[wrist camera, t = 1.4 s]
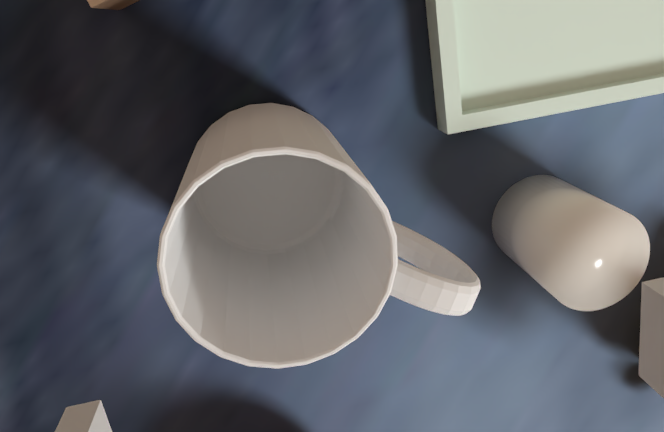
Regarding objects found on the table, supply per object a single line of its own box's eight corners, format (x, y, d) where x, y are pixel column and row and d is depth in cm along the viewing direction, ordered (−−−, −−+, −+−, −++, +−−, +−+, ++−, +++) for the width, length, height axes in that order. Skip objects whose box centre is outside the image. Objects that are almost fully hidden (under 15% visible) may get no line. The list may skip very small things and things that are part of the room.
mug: (170, 232, 29) (131, 343, 19) (211, 79, 27) (191, 113, 17) (391, 288, 31) (458, 409, 22) (444, 153, 29) (544, 220, 20)
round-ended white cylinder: (494, 268, 32) (548, 321, 26) (488, 184, 30) (544, 221, 25) (578, 250, 32) (648, 298, 27) (577, 166, 31) (651, 198, 25)
